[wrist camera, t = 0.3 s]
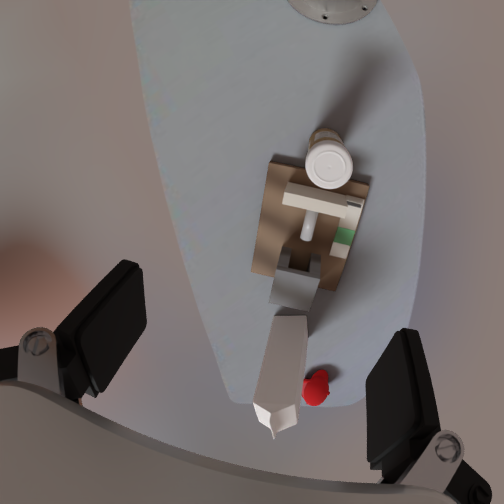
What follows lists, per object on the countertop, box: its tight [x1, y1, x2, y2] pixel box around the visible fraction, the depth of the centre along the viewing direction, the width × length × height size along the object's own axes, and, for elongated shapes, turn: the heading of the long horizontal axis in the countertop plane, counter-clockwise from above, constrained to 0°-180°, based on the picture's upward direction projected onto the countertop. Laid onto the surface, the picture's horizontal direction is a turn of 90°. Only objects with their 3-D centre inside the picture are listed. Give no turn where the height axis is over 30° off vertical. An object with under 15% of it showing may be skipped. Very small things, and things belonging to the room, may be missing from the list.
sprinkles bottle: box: [305, 128, 353, 189], centre depth 32 cm, size 5×5×14 cm
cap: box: [302, 370, 330, 406], centre depth 59 cm, size 8×6×6 cm
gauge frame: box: [251, 161, 370, 312], centre depth 42 cm, size 18×14×8 cm
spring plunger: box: [282, 182, 361, 241], centre depth 39 cm, size 7×10×4 cm, turn 82°
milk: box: [253, 315, 308, 440], centre depth 46 cm, size 6×6×22 cm
